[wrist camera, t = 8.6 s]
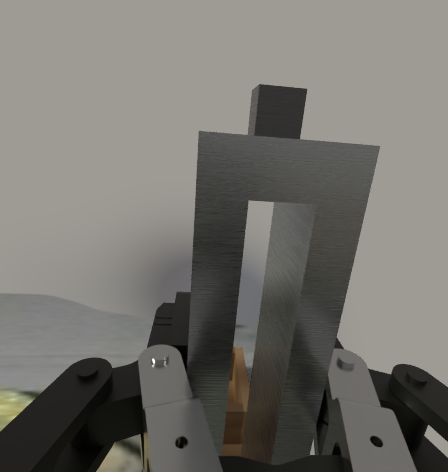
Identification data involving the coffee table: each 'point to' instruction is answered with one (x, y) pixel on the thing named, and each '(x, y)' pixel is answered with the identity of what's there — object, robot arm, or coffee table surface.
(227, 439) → the brown open box stand
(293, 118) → the tall gray rectangular post
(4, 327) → the coffee table surface
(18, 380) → the coffee table surface
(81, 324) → the coffee table surface
